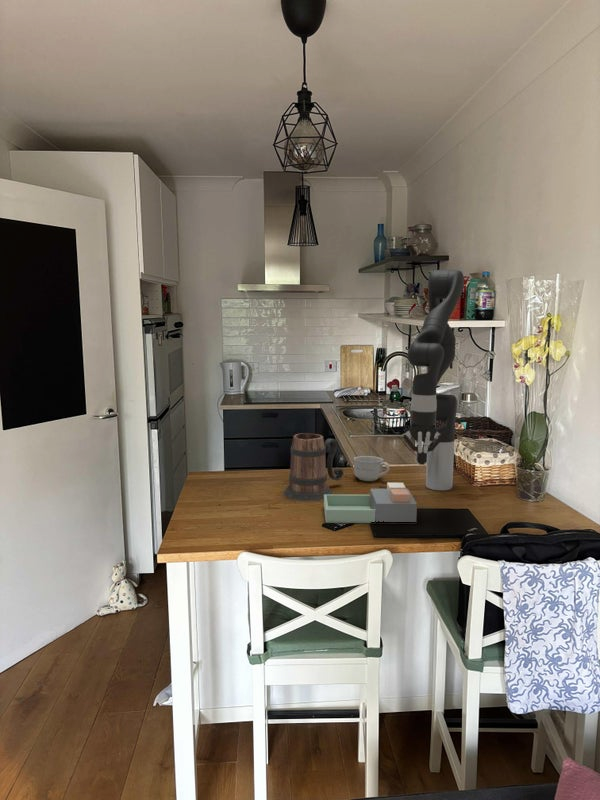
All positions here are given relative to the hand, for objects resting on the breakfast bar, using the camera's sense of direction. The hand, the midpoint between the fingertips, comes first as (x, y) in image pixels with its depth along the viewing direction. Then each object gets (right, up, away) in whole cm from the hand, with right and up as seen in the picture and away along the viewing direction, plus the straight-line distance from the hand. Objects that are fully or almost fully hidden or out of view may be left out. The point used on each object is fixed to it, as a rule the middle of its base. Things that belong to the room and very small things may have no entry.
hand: (421, 464), depth 177 cm
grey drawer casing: (-9, -16, 0) cm, 18 cm away
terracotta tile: (-8, -10, -5) cm, 14 cm away
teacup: (-11, -10, +35) cm, 38 cm away
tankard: (-32, -12, +22) cm, 41 cm away
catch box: (-23, -15, 0) cm, 27 cm away
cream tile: (-8, -9, +2) cm, 12 cm away
